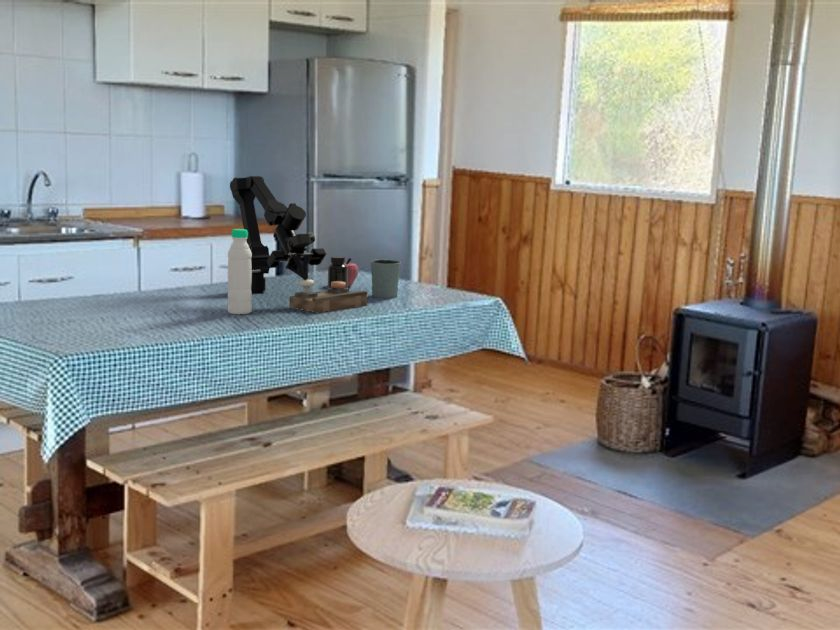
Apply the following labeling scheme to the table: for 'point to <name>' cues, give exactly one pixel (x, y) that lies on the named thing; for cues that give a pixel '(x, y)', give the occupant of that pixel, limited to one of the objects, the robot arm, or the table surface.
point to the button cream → (306, 285)
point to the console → (328, 300)
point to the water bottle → (239, 274)
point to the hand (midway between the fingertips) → (306, 279)
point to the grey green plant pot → (385, 278)
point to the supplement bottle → (337, 271)
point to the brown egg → (338, 284)
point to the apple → (351, 272)
